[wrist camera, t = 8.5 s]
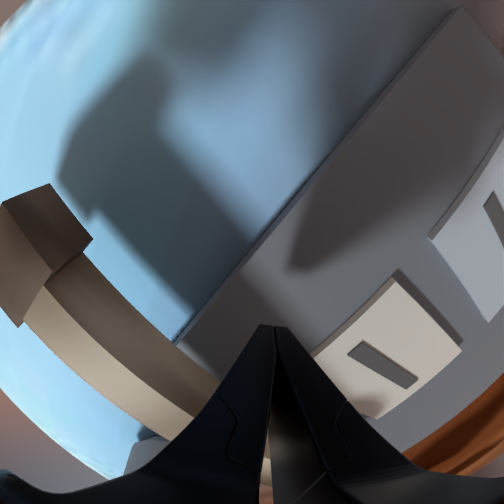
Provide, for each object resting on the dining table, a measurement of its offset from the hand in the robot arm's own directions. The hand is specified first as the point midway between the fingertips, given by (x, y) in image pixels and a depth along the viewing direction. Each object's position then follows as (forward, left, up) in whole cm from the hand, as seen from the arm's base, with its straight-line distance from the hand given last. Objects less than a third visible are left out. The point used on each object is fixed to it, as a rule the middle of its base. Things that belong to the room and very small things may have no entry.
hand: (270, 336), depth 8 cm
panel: (-8, -3, -3) cm, 9 cm away
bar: (-1, +4, -2) cm, 5 cm away
